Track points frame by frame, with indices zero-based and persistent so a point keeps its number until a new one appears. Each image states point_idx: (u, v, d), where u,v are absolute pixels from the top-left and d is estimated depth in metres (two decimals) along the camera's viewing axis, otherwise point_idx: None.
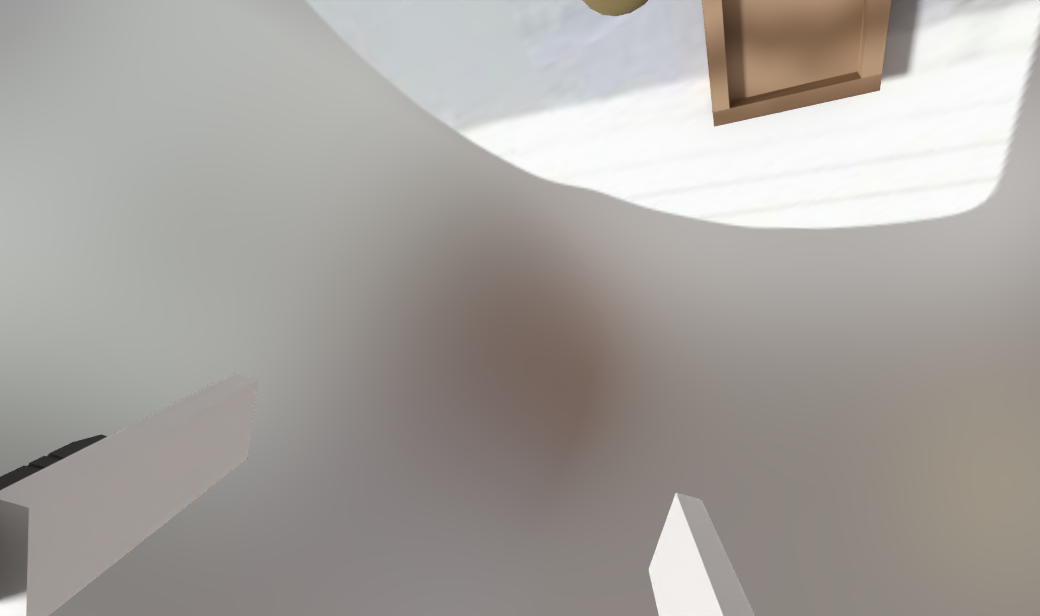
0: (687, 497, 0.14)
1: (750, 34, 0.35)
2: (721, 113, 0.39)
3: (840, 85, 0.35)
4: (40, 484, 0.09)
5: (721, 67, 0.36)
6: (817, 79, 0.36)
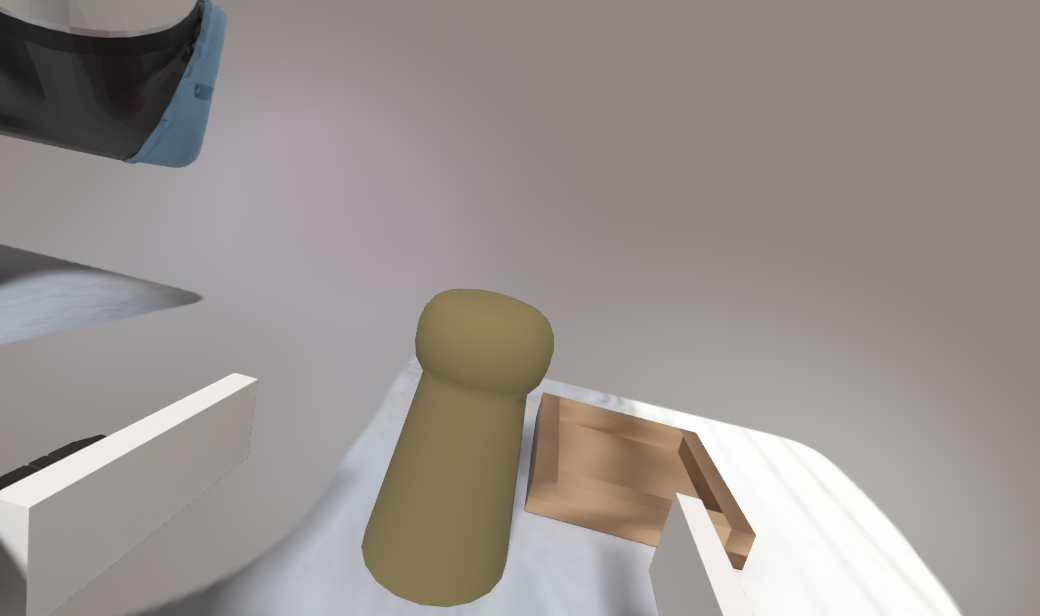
0: (687, 496, 0.14)
1: None
2: (732, 522, 0.24)
3: (690, 446, 0.32)
4: (40, 484, 0.09)
5: (661, 500, 0.25)
6: (685, 470, 0.31)
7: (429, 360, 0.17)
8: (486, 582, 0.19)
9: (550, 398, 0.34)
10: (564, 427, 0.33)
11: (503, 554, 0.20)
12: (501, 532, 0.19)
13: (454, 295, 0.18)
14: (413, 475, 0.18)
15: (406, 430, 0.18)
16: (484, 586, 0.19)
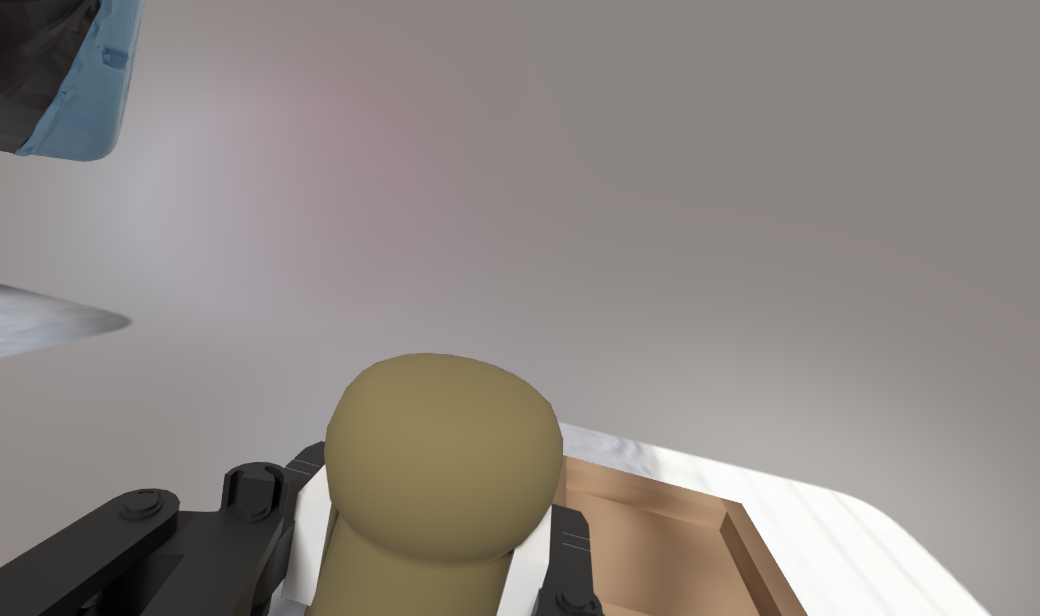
0: None
1: (658, 611, 0.19)
2: None
3: (738, 527, 0.24)
4: (326, 484, 0.11)
5: None
6: (733, 563, 0.23)
7: (340, 502, 0.09)
8: None
9: None
10: (572, 500, 0.25)
11: None
12: None
13: (390, 376, 0.10)
14: None
15: (314, 598, 0.11)
16: None
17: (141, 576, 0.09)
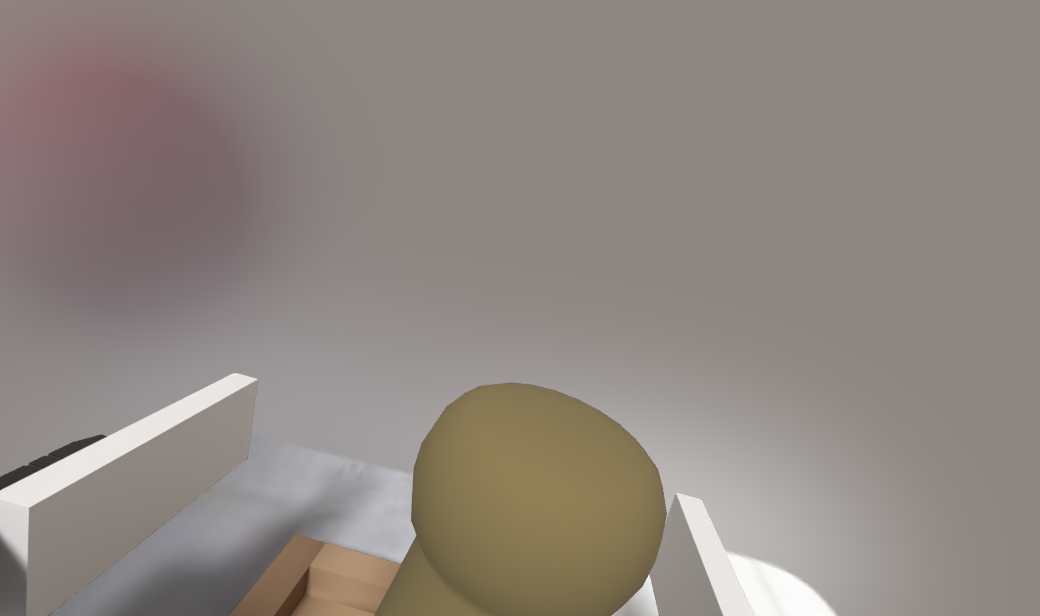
0: (686, 497, 0.14)
1: None
2: None
3: None
4: (40, 484, 0.09)
5: None
6: None
7: (441, 557, 0.08)
8: None
9: (300, 551, 0.18)
10: None
11: None
12: None
13: (495, 418, 0.09)
14: None
15: None
16: None
17: None
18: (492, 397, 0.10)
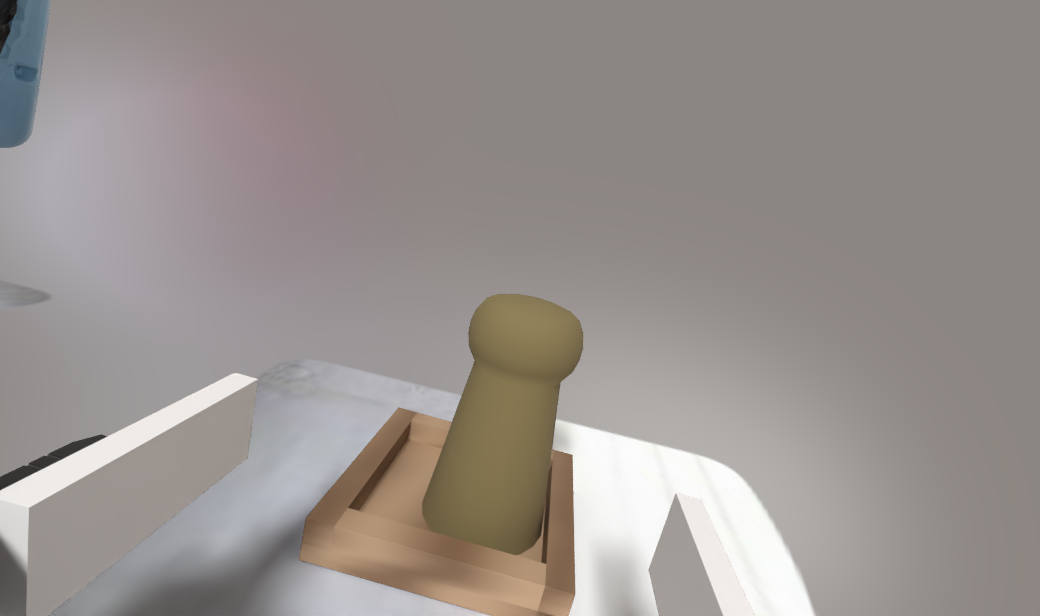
0: (687, 497, 0.14)
1: None
2: (551, 576, 0.20)
3: (555, 472, 0.28)
4: (40, 484, 0.09)
5: (468, 548, 0.20)
6: None
7: (486, 355, 0.21)
8: (532, 537, 0.23)
9: (404, 414, 0.30)
10: (413, 449, 0.28)
11: (542, 515, 0.23)
12: (542, 496, 0.23)
13: (502, 300, 0.21)
14: (472, 450, 0.21)
15: (462, 413, 0.22)
16: (530, 541, 0.23)
17: None
18: (500, 295, 0.22)
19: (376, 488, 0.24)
